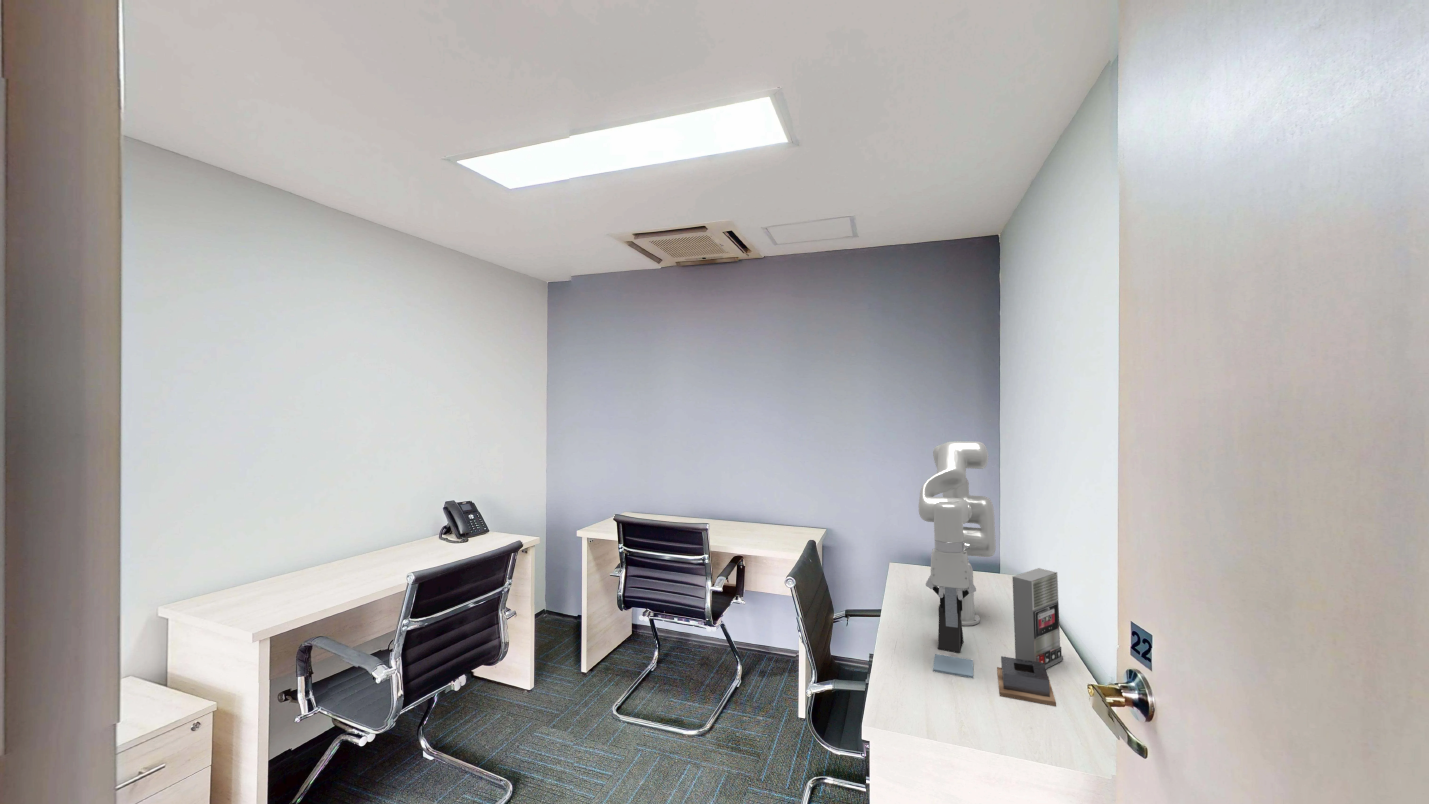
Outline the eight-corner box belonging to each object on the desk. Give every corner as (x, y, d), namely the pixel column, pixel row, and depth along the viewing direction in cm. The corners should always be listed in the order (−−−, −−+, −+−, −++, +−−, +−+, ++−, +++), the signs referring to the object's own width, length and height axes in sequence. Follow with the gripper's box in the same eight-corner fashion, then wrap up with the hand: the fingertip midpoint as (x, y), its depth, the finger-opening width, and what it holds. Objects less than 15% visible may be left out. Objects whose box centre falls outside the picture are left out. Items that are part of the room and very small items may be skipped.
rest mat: (935, 655, 156) (935, 653, 156) (972, 661, 151) (972, 659, 151) (933, 671, 147) (933, 669, 147) (973, 678, 142) (973, 676, 142)
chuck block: (1001, 670, 144) (1001, 656, 144) (1044, 678, 140) (1044, 662, 140) (1003, 688, 135) (1003, 673, 135) (1049, 697, 130) (1049, 680, 131)
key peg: (946, 622, 151) (944, 583, 151) (957, 623, 150) (956, 584, 150) (945, 626, 148) (944, 586, 148) (957, 627, 147) (956, 587, 147)
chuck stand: (997, 670, 146) (997, 666, 146) (1048, 679, 141) (1048, 675, 141) (999, 695, 133) (999, 691, 133) (1055, 706, 128) (1055, 701, 128)
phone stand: (959, 653, 157) (958, 613, 157) (937, 649, 160) (936, 609, 160) (963, 642, 164) (962, 603, 164) (943, 638, 167) (941, 599, 168)
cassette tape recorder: (1037, 674, 143) (1034, 582, 144) (1015, 665, 148) (1011, 576, 149) (1064, 661, 150) (1060, 573, 151) (1041, 653, 156) (1038, 567, 156)
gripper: (981, 545, 149) (983, 611, 149) (919, 540, 156) (921, 603, 156) (981, 552, 143) (984, 620, 142) (917, 547, 150) (919, 612, 149)
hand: (951, 611), depth 149 cm, fingers closed on key peg, 3 cm apart
